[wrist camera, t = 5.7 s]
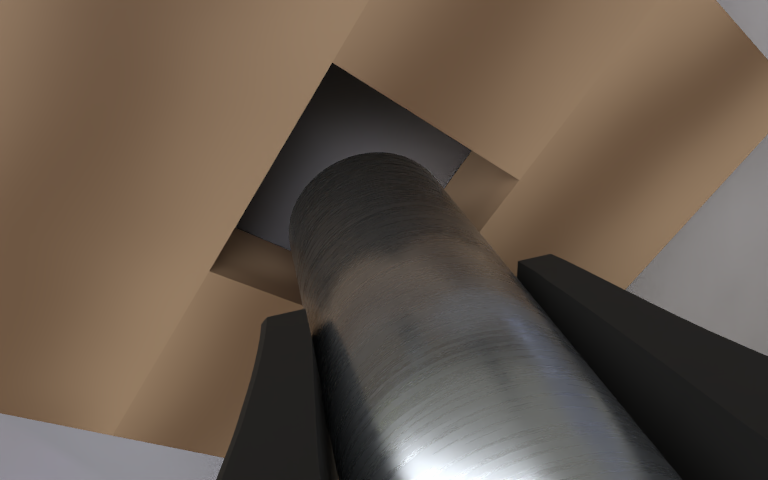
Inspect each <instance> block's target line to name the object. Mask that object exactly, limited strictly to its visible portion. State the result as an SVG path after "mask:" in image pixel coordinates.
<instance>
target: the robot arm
mask: <svg viewBox="0 0 768 480" xmlns="http://www.w3.org/2000/svg"><path fill="white" fill-rule="evenodd" d="M517 279H518V280H519V281H520V282H521V283H522V285H523V286H524V287H525V288H526V290H527V291H528V292H529V293H530V294H531V296H532V297H533V298H534V299H535V301H536V302H537V303H538V304H539V305H540V307H541V308H542V309H543V310H544V312H545V313H546V314H547V315H548V316H549V318H550V319H551V320H552V321H553V323H554V324H555V325H556V326H557V327H558V329H559V330H560V331H561V332H562V333H563V335H564V336H565V337H566V338H567V340H568V341H569V342H570V343H571V344H572V346H573V347H574V348H575V349H576V351H577V352H578V353H579V354H580V355H581V357H582V358H583V359H584V360H585V362H586V363H587V364H588V365H589V366H590V368H591V369H592V370H593V371H594V373H595V374H596V375H597V376H598V377H599V379H600V380H601V381H602V382H603V383H604V385H605V386H606V387H607V388H608V390H609V391H610V392H611V393H612V394H613V396H614V397H615V398H616V399H617V401H618V402H619V403H620V404H621V405H622V407H623V408H624V409H625V410H626V412H627V413H628V414H629V415H630V416H631V418H632V419H633V420H634V421H635V422H636V424H637V425H638V426H639V427H640V429H641V430H642V431H643V432H644V433H645V435H646V436H647V437H648V438H649V440H650V441H651V442H652V443H653V444H654V446H655V447H656V448H657V449H658V451H659V452H660V453H661V454H662V455H663V457H664V458H665V459H666V460H667V462H668V463H669V464H670V465H671V466H672V468H673V469H674V470H675V471H676V472H677V474H678V475H679V476H680V477H681V479H682V480H768V356H766V355H763V354H761V353H759V352H756V351H754V350H752V349H749V348H747V347H745V346H743V345H740V344H738V343H736V342H733V341H731V340H729V339H727V338H724V337H722V336H720V335H717V334H715V333H713V332H711V331H708V330H706V329H704V328H702V327H700V326H698V325H695V324H693V323H691V322H689V321H687V320H685V319H683V318H681V317H678V316H676V315H674V314H672V313H670V312H668V311H666V310H664V309H662V308H660V307H658V306H656V305H654V304H652V303H650V302H648V301H646V300H644V299H642V298H640V297H638V296H636V295H634V294H632V293H630V292H628V291H626V290H624V289H622V288H620V287H618V286H616V285H614V284H612V283H610V282H608V281H606V280H604V279H602V278H600V277H598V276H596V275H594V274H592V273H590V272H588V271H586V270H584V269H582V268H580V267H578V266H576V265H574V264H572V263H570V262H568V261H566V260H564V259H562V258H559V257H557V256H555V255H553V254H547V255H543V256H538V257H534V258H529V259H525V260H520V261H518V267H517ZM216 480H338V474H337V469H336V464H335V460H334V455H333V450H332V445H331V440H330V435H329V431H328V426H327V421H326V415H325V409H324V403H323V396H322V388H321V381H320V376H319V371H318V366H317V361H316V356H315V352H314V347H313V342H312V337H311V332H310V328H309V323H308V318H307V314H306V309H301V310H297V311H292V312H288V313H283V314H279V315H274V316H270V317H267V318H266V319H265V320H264V321H263V323H262V324H261V331H260V339H259V344H258V350H257V355H256V359H255V363H254V367H253V371H252V375H251V379H250V383H249V386H248V390H247V393H246V396H245V399H244V403H243V406H242V409H241V412H240V415H239V419H238V422H237V425H236V428H235V431H234V434H233V437H232V440H231V442H230V445H229V448H228V450H227V453H226V456H225V458H224V461H223V463H222V466H221V469H220V471H219V474H218V476H217V479H216Z"/></svg>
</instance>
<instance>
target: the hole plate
mask: <svg viewBox="0 0 768 480" xmlns="http://www.w3.org/2000/svg"><path fill="white" fill-rule="evenodd" d="M332 63H334V64H335V65H337V66H339V67H340V68H342V69H343V70H345V71H347V72H348V73H350V74H351V75H353V76H355V77H356V78H358V79H359V80H361V81H362V82H364V83H366V84H367V85H369V86H370V87H372V88H374V89H375V90H377V91H378V92H380V93H382V94H383V95H385V96H386V97H388V98H389V99H391V100H393V101H394V102H396V103H397V104H399V105H401V106H402V107H404V108H405V109H407V110H408V111H410V112H412V113H413V114H415V115H416V116H418V117H420V118H421V119H423V120H424V121H426V122H428V123H429V124H431V125H432V126H434V127H435V128H437V129H439V130H440V131H442V132H443V133H445V134H447V135H448V136H450V137H451V138H453V139H455V140H456V141H458V142H459V143H461V144H462V145H464V146H466V147H467V148H469V149H470V150H472V151H471V152H470V154H469V155H468V157H467V158H466V159H465V161H464V162H463V163H462V165H461V166H460V168H459V169H458V170H457V172H456V173H455V175H454V176H453V177H452V179H451V180H450V181H449V183H448V184H447V186H446V187H445V188H444V190H445V191H446V192H447V193H448V194H449V196H450V197H451V198H452V199H453V201H454V202H455V203H456V204H457V205H458V207H459V208H460V209H461V210H462V212H463V213H464V214H465V215H466V216H467V218H468V219H469V220H470V221H471V223H472V224H473V225H474V226H475V227H476V229H477V230H478V231H479V232H480V234H481V235H482V236H483V237H484V238H485V240H486V241H487V242H488V243H489V244H490V246H491V247H492V248H493V249H494V251H495V252H496V253H497V254H498V255H499V257H500V258H501V259H502V260H503V262H504V263H505V264H506V265H507V266H508V268H509V269H510V270H511V271H512V273H513V274H514V275H515V276H516V277H517V267H518V261H520V260H525V259H529V258H534V257H538V256H543V255H547V254H553V255H555V256H557V257H559V258H562V259H564V260H566V261H568V262H570V263H572V264H574V265H576V266H578V267H580V268H582V269H584V270H586V271H588V272H590V273H592V274H594V275H596V276H598V277H600V278H602V279H604V280H606V281H608V282H610V283H612V284H614V285H616V286H618V287H620V288H622V289H624V290H625V289H626V288H627V287H628V286H629V285H630V284H631V283H632V282H633V280H634V279H635V278H636V277H637V276H638V275H639V274H640V273H641V272H642V271H643V270H644V268H645V267H646V266H647V265H648V264H649V263H650V262H651V261H652V260H653V259H654V258H655V256H656V255H657V254H658V253H659V252H660V251H661V250H662V249H663V248H664V247H665V246H666V244H667V243H668V242H669V241H670V240H671V239H672V238H673V237H674V236H675V235H676V233H677V232H678V231H679V230H680V229H681V228H682V227H683V226H684V225H685V224H686V223H687V221H688V220H689V219H690V218H691V217H692V216H693V215H694V214H695V213H696V212H697V211H698V209H699V208H700V207H701V206H702V205H703V204H704V203H705V202H706V201H707V200H708V199H709V197H710V196H711V195H712V194H713V193H714V192H715V191H716V190H717V189H718V188H719V187H720V185H721V184H722V183H723V182H724V181H725V180H726V179H727V178H728V177H729V176H730V175H731V173H732V172H733V171H734V170H735V169H736V168H737V167H738V166H739V165H740V164H741V162H742V161H743V160H744V159H745V158H746V157H747V156H748V155H749V154H750V153H751V152H752V150H753V149H754V148H755V147H756V146H757V145H758V144H759V143H760V142H761V141H762V140H763V138H764V137H765V136H766V135H767V134H768V60H767V58H766V57H765V56H764V55H763V54H762V53H761V52H760V50H759V49H758V48H757V47H756V46H755V45H754V44H753V42H752V41H751V40H750V39H749V38H748V37H747V35H746V34H745V33H744V32H743V31H742V30H741V29H740V27H739V26H738V25H737V24H736V23H735V22H734V21H733V19H732V18H731V17H730V16H729V15H728V14H727V12H726V11H725V10H724V9H723V8H722V7H721V6H720V4H719V3H718V2H717V1H716V0H0V413H2V414H7V415H12V416H17V417H22V418H27V419H32V420H37V421H43V422H48V423H53V424H58V425H63V426H68V427H73V428H78V429H83V430H88V431H93V432H98V433H103V434H108V435H113V436H118V437H123V438H128V439H133V440H138V441H143V442H148V443H153V444H158V445H163V446H168V447H173V448H178V449H183V450H188V451H193V452H198V453H203V454H208V455H213V456H218V457H223V458H225V456H226V453H227V450H228V448H229V445H230V442H231V440H232V437H233V434H234V431H235V428H236V425H237V422H238V419H239V415H240V412H241V409H242V406H243V403H244V399H245V396H246V393H247V390H248V386H249V383H250V379H251V375H252V371H253V367H254V363H255V359H256V355H257V350H258V344H259V339H260V331H261V324H262V323H263V321H264V320H265V319H266V318H267V317H270V316H274V315H279V314H283V313H288V312H292V311H297V310H301V309H303V305H302V300H301V295H300V290H299V286H298V281H297V276H296V271H295V266H294V261H293V257H292V252H291V251H290V250H287V249H285V248H282V247H280V246H278V245H275V244H273V243H270V242H268V241H266V240H263V239H261V238H258V237H256V236H254V235H251V234H249V233H247V232H244V231H242V230H239V229H237V228H235V227H236V225H237V223H238V222H239V220H240V218H241V216H242V215H243V213H244V211H245V210H246V208H247V206H248V205H249V203H250V201H251V200H252V198H253V196H254V194H255V193H256V191H257V189H258V188H259V186H260V184H261V183H262V181H263V179H264V177H265V176H266V174H267V172H268V171H269V169H270V167H271V166H272V164H273V162H274V160H275V159H276V157H277V155H278V154H279V152H280V150H281V149H282V147H283V145H284V144H285V142H286V140H287V138H288V137H289V135H290V133H291V132H292V130H293V128H294V127H295V125H296V123H297V121H298V120H299V118H300V116H301V115H302V113H303V111H304V110H305V108H306V106H307V104H308V103H309V101H310V99H311V98H312V96H313V94H314V93H315V91H316V89H317V88H318V86H319V84H320V82H321V81H322V79H323V77H324V76H325V74H326V72H327V71H328V69H329V67H330V65H331V64H332ZM338 480H339V479H338Z"/></svg>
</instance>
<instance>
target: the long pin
mask: <svg viewBox="0 0 768 480" xmlns="http://www.w3.org/2000/svg"><path fill="white" fill-rule="evenodd" d="M289 240H290V247H291V252H292V257H293V261H294V266H295V271H296V276H297V281H298V286H299V290H300V295H301V300H302V305H303V309H306V314H307V318H308V323H309V328H310V332H311V337H312V342H313V347H314V352H315V356H316V361H317V366H318V371H319V376H320V381H321V388H322V396H323V403H324V409H325V415H326V421H327V426H328V431H329V435H330V440H331V445H332V450H333V455H334V460H335V464H336V469H337V474H338V479H339V480H682V479H681V477H680V476H679V475H678V474H677V472H676V471H675V470H674V469H673V468H672V466H671V465H670V464H669V463H668V462H667V460H666V459H665V458H664V457H663V455H662V454H661V453H660V452H659V451H658V449H657V448H656V447H655V446H654V444H653V443H652V442H651V441H650V440H649V438H648V437H647V436H646V435H645V433H644V432H643V431H642V430H641V429H640V427H639V426H638V425H637V424H636V422H635V421H634V420H633V419H632V418H631V416H630V415H629V414H628V413H627V412H626V410H625V409H624V408H623V407H622V405H621V404H620V403H619V402H618V401H617V399H616V398H615V397H614V396H613V394H612V393H611V392H610V391H609V390H608V388H607V387H606V386H605V385H604V383H603V382H602V381H601V380H600V379H599V377H598V376H597V375H596V374H595V373H594V371H593V370H592V369H591V368H590V366H589V365H588V364H587V363H586V362H585V360H584V359H583V358H582V357H581V355H580V354H579V353H578V352H577V351H576V349H575V348H574V347H573V346H572V344H571V343H570V342H569V341H568V340H567V338H566V337H565V336H564V335H563V333H562V332H561V331H560V330H559V329H558V327H557V326H556V325H555V324H554V323H553V321H552V320H551V319H550V318H549V316H548V315H547V314H546V313H545V312H544V310H543V309H542V308H541V307H540V305H539V304H538V303H537V302H536V301H535V299H534V298H533V297H532V296H531V294H530V293H529V292H528V291H527V290H526V288H525V287H524V286H523V285H522V283H521V282H520V281H519V280H518V279H517V277H516V276H515V275H514V274H513V273H512V271H511V270H510V269H509V268H508V266H507V265H506V264H505V263H504V262H503V260H502V259H501V258H500V257H499V255H498V254H497V253H496V252H495V251H494V249H493V248H492V247H491V246H490V244H489V243H488V242H487V241H486V240H485V238H484V237H483V236H482V235H481V234H480V232H479V231H478V230H477V229H476V227H475V226H474V225H473V224H472V223H471V221H470V220H469V219H468V218H467V216H466V215H465V214H464V213H463V212H462V210H461V209H460V208H459V207H458V205H457V204H456V203H455V202H454V201H453V199H452V198H451V197H450V196H449V194H448V193H447V192H446V191H445V190H444V188H443V187H442V186H441V185H440V184H439V182H438V181H437V180H436V179H435V178H434V176H433V175H432V174H431V173H430V172H429V171H428V170H427V169H425V168H424V167H423V166H422V165H420V164H419V163H417V162H415V161H414V160H411V159H409V158H406V157H404V156H400V155H397V154H391V153H384V152H380V153H365V154H359V155H355V156H351V157H348V158H346V159H343V160H341V161H339V162H337V163H335V164H333V165H331V166H329V167H328V168H326V169H325V170H324V171H322V172H321V173H319V174H318V175H317V176H316V177H315V178H314V179H313V180H312V181H311V182H310V183H309V184H308V185H307V187H306V188H305V189H304V190H303V192H302V193H301V195H300V197H299V198H298V200H297V202H296V204H295V206H294V209H293V212H292V215H291V219H290V225H289Z"/></svg>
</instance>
